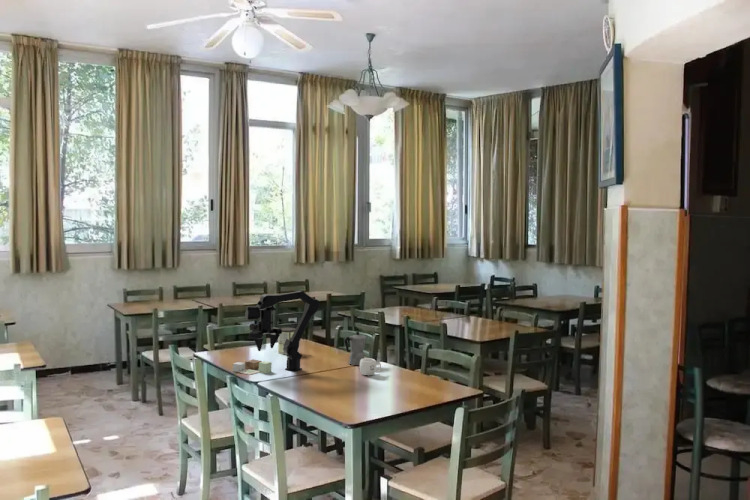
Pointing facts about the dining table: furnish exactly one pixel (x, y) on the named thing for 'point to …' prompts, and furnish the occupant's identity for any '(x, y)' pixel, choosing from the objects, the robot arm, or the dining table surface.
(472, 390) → the dining table surface
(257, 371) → the swatch tile
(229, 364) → the dining table surface
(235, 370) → the grey block
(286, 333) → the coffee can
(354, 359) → the coffeepot
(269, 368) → the sage block
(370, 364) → the mug
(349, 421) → the dining table surface
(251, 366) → the walnut block
